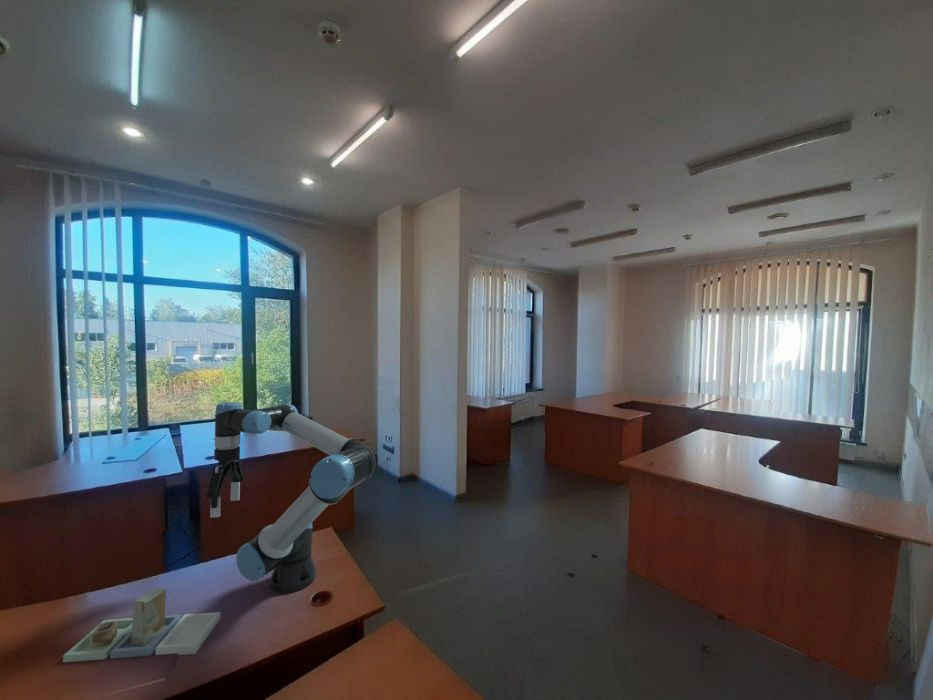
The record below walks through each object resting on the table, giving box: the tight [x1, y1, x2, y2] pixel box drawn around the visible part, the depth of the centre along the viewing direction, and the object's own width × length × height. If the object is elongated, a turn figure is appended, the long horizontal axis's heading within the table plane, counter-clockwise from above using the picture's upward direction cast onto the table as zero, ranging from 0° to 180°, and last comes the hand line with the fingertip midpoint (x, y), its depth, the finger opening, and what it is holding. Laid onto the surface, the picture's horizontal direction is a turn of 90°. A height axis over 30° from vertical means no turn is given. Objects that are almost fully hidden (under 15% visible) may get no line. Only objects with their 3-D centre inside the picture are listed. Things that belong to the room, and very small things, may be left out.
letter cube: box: [92, 621, 118, 649], centre depth 104 cm, size 4×4×4 cm
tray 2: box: [109, 614, 182, 660], centre depth 106 cm, size 10×13×2 cm
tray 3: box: [155, 611, 221, 656], centre depth 107 cm, size 10×13×2 cm
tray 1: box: [62, 617, 133, 663], centre depth 104 cm, size 10×13×2 cm
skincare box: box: [131, 587, 167, 646], centre depth 106 cm, size 6×4×12 cm
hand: (225, 508), depth 128 cm, fingers open, 13 cm apart
